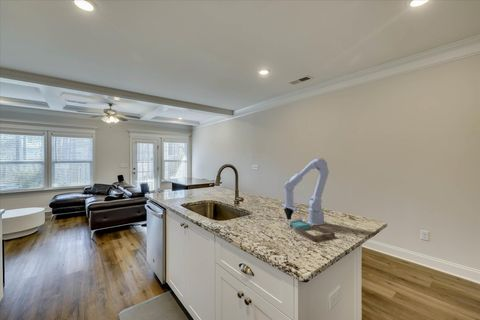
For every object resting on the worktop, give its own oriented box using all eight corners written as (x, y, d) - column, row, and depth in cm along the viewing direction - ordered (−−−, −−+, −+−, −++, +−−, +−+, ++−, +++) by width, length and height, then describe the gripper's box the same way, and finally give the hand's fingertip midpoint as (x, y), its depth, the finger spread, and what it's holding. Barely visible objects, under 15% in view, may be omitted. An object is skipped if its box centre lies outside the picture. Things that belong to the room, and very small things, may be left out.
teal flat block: (301, 225, 135) (301, 219, 135) (310, 228, 128) (310, 222, 128) (289, 227, 132) (289, 220, 132) (297, 231, 124) (297, 224, 124)
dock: (314, 228, 128) (314, 224, 128) (334, 237, 114) (334, 232, 114) (295, 231, 122) (295, 227, 122) (313, 241, 108) (313, 236, 108)
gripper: (278, 197, 145) (277, 217, 145) (290, 202, 131) (290, 223, 132) (286, 197, 148) (286, 216, 148) (299, 201, 134) (299, 221, 134)
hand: (288, 219), depth 140 cm, fingers closed
